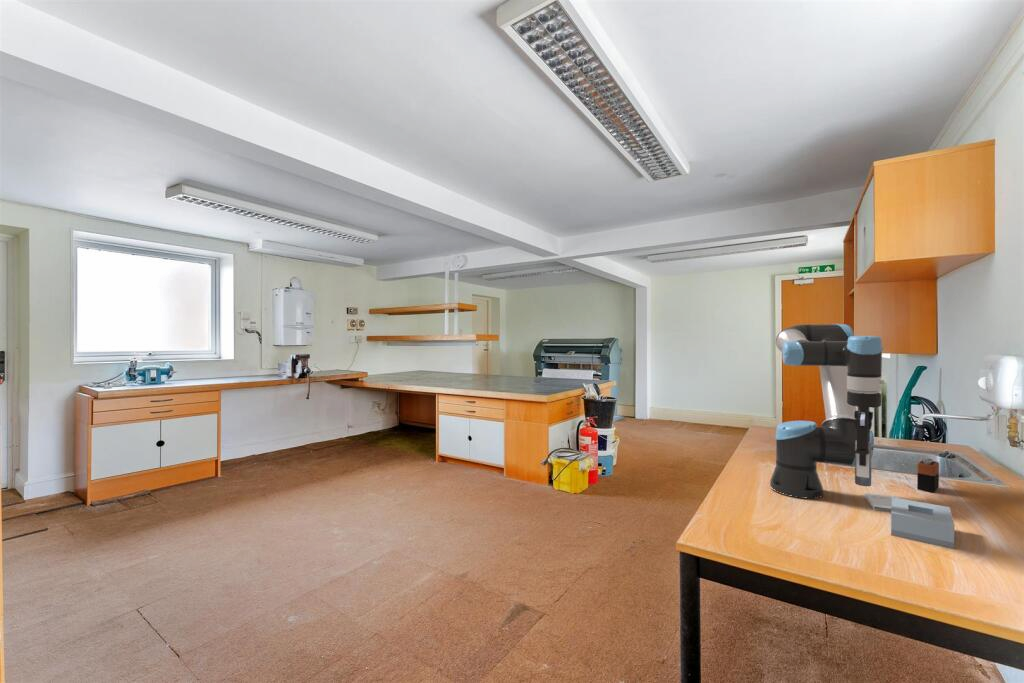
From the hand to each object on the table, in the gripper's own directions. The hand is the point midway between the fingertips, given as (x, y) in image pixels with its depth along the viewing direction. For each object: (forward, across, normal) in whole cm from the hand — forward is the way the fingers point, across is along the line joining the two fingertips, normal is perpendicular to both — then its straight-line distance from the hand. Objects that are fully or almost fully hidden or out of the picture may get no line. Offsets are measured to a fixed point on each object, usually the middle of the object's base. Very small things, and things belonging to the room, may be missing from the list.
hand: (863, 474), depth 126 cm
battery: (+15, +46, -15) cm, 51 cm away
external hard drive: (+15, +21, -4) cm, 27 cm away
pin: (+3, 0, 0) cm, 3 cm away
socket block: (+14, +3, -12) cm, 19 cm away
